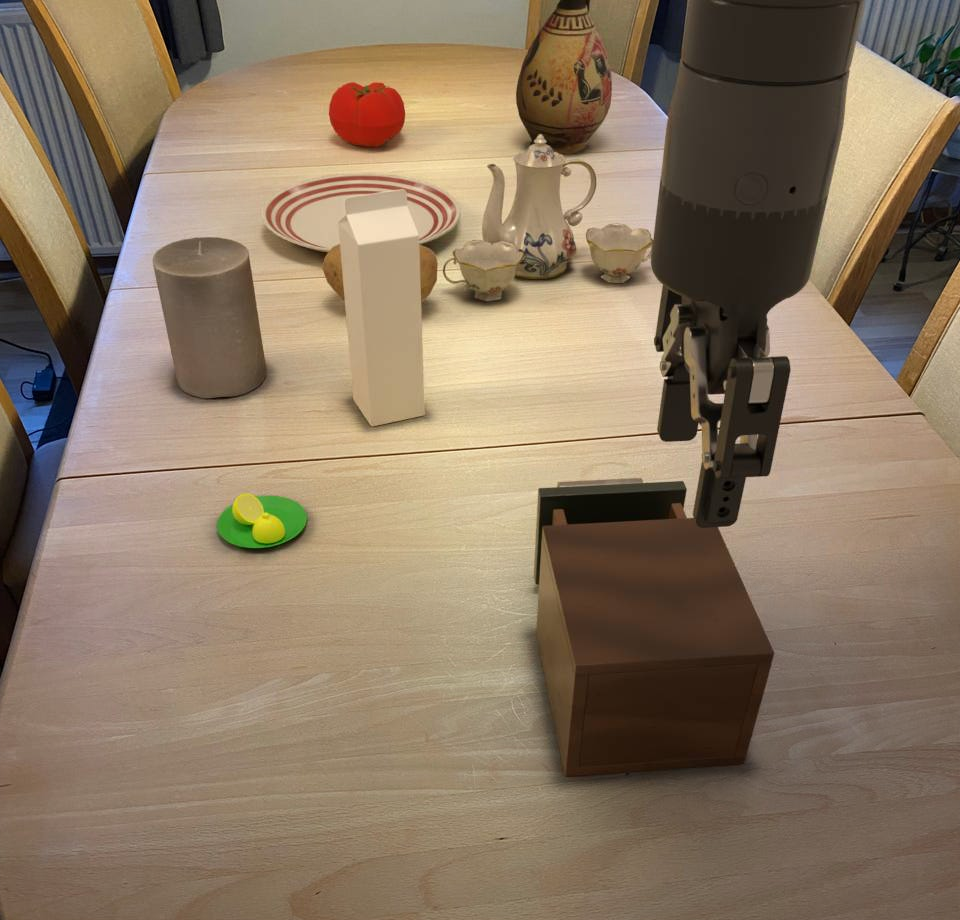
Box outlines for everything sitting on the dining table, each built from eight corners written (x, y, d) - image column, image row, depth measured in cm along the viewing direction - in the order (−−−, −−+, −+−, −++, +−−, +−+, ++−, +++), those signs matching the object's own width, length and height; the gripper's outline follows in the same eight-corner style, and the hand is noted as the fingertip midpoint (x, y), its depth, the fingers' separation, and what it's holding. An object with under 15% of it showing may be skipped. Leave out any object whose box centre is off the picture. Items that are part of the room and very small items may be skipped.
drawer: (526, 545, 89) (530, 458, 83) (657, 538, 90) (670, 451, 84) (558, 691, 76) (565, 600, 70) (710, 681, 77) (731, 590, 71)
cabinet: (535, 634, 82) (542, 525, 75) (692, 624, 83) (713, 516, 76) (565, 777, 71) (576, 665, 64) (744, 763, 72) (775, 652, 65)
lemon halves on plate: (200, 541, 91) (194, 515, 89) (247, 493, 97) (243, 468, 95) (279, 562, 89) (275, 536, 87) (323, 512, 94) (320, 486, 92)
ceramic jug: (579, 167, 164) (594, -57, 144) (497, 150, 170) (501, -68, 150) (627, 139, 174) (648, -73, 154) (549, 123, 180) (559, -83, 160)
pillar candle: (223, 349, 118) (200, 216, 108) (285, 373, 114) (267, 238, 103) (158, 382, 112) (127, 246, 102) (221, 409, 108) (195, 270, 98)
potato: (339, 286, 130) (334, 223, 125) (447, 297, 128) (446, 233, 123) (314, 320, 123) (307, 254, 118) (428, 331, 121) (426, 265, 116)
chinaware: (468, 330, 125) (474, 195, 112) (417, 265, 135) (418, 134, 122) (665, 292, 133) (691, 162, 121) (604, 233, 143) (622, 108, 131)
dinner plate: (499, 241, 141) (499, 217, 139) (322, 288, 130) (319, 262, 128) (396, 183, 158) (395, 160, 156) (231, 220, 147) (228, 196, 144)
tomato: (427, 142, 173) (425, 85, 167) (371, 160, 166) (367, 101, 160) (372, 124, 180) (368, 68, 174) (316, 140, 173) (310, 83, 167)
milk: (425, 416, 107) (419, 200, 92) (370, 428, 105) (355, 209, 90) (404, 389, 111) (396, 178, 96) (351, 400, 109) (334, 186, 94)
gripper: (886, 232, 41) (800, 552, 52) (778, 124, 52) (725, 410, 63) (703, 238, 41) (655, 561, 52) (631, 128, 51) (604, 416, 62)
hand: (693, 478), depth 57 cm, fingers open, 8 cm apart
